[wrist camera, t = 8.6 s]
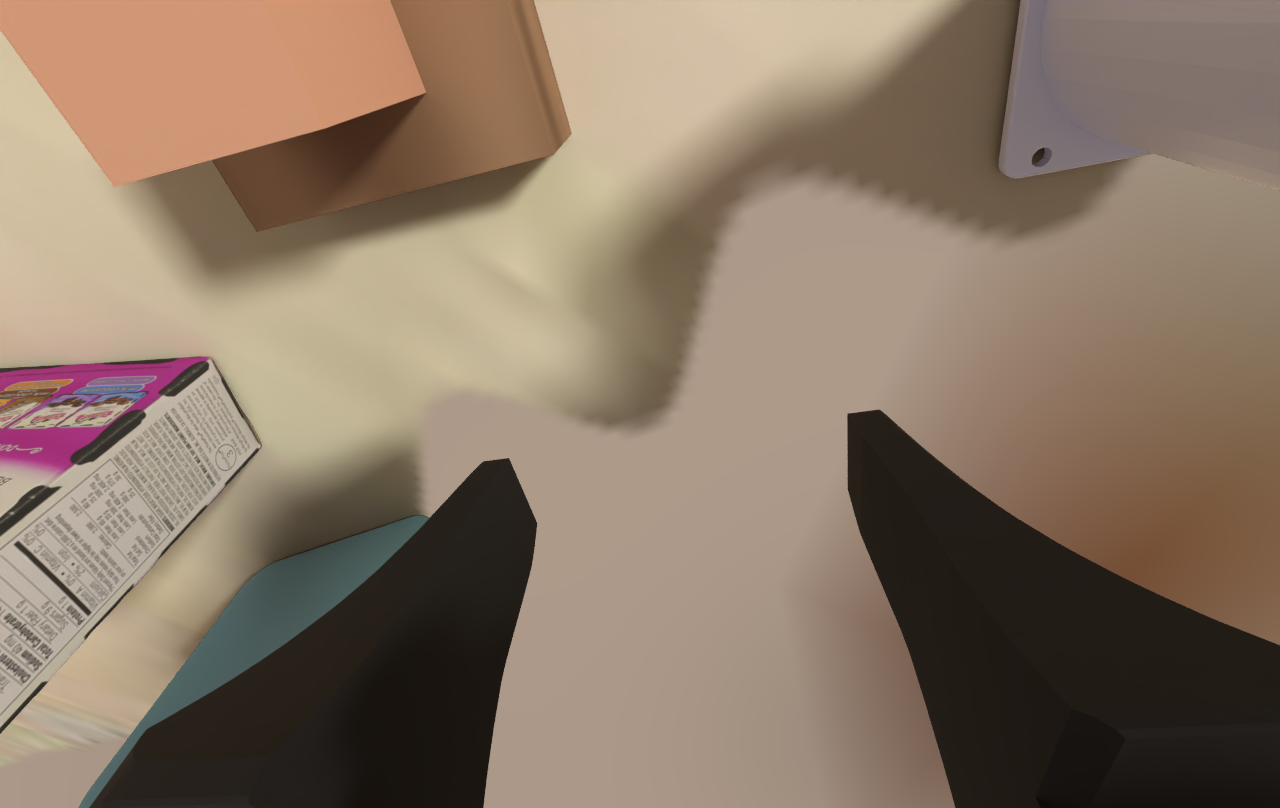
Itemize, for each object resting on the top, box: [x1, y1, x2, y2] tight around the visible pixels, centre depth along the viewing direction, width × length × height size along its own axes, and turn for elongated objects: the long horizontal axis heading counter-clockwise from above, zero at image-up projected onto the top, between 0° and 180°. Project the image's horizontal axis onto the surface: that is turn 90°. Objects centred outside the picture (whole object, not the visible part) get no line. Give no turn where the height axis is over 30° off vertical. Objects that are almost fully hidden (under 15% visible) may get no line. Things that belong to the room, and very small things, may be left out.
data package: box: [79, 515, 429, 808], centre depth 24 cm, size 12×4×12 cm, turn 115°
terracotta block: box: [0, 0, 426, 187], centre depth 11 cm, size 4×4×5 cm
